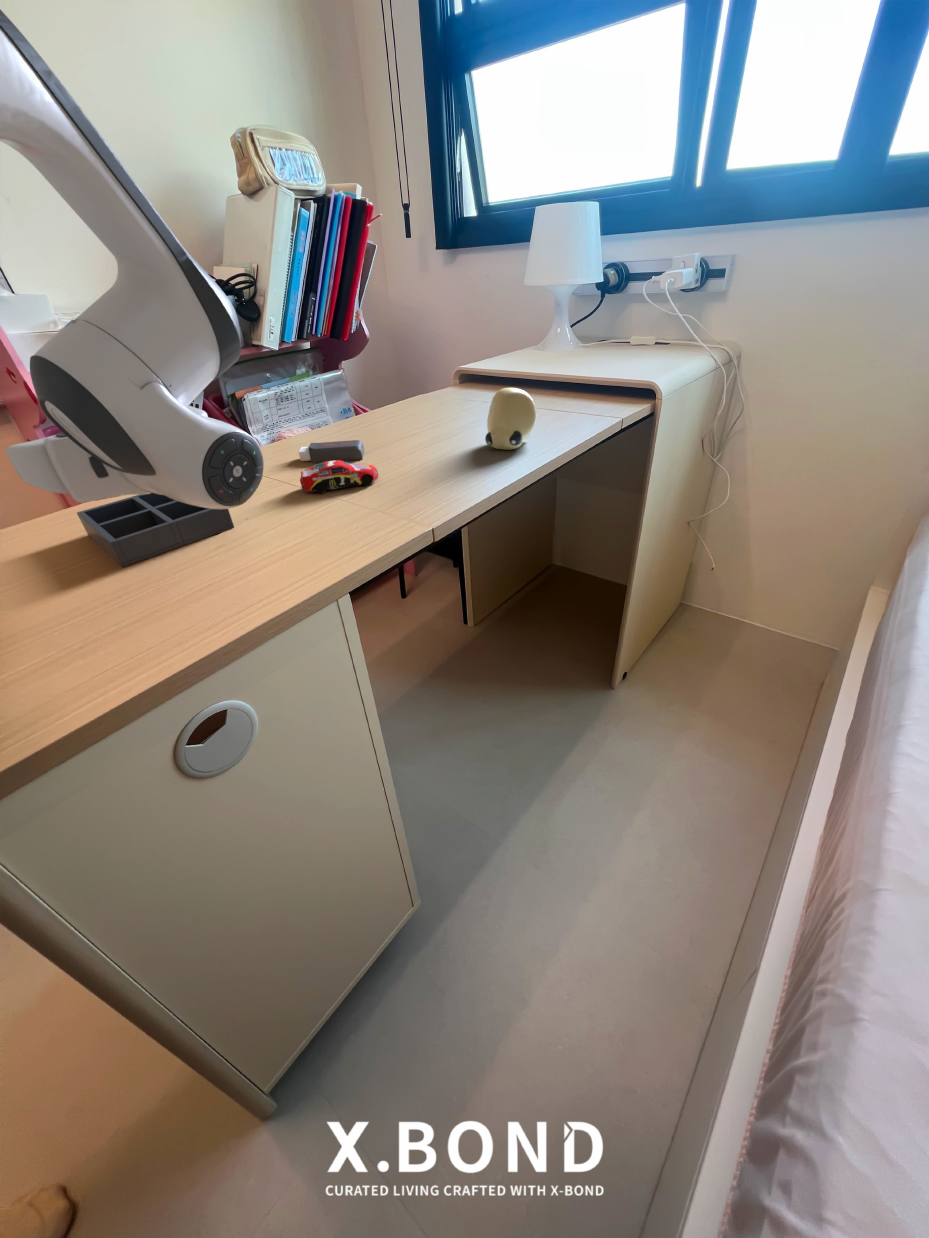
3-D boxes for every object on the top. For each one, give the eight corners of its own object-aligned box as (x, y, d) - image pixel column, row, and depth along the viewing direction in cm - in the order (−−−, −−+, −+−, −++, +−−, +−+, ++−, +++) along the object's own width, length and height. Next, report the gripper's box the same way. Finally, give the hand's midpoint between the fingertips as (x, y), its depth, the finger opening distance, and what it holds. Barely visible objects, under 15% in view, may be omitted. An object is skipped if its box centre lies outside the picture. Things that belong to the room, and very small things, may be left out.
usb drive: (362, 459, 98) (360, 445, 97) (300, 464, 98) (296, 449, 96) (364, 451, 102) (362, 437, 101) (304, 455, 102) (301, 441, 100)
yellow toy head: (488, 459, 106) (470, 435, 96) (500, 406, 107) (484, 376, 97) (532, 462, 102) (519, 437, 92) (545, 406, 103) (533, 376, 93)
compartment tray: (122, 567, 66) (110, 542, 64) (88, 535, 75) (76, 512, 73) (234, 527, 75) (226, 504, 73) (191, 502, 84) (183, 481, 81)
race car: (376, 474, 91) (373, 452, 89) (382, 484, 87) (379, 461, 84) (301, 485, 88) (296, 462, 85) (303, 496, 84) (298, 472, 81)
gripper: (224, 397, 60) (162, 389, 66) (28, 445, 46) (-25, 428, 53) (240, 451, 63) (180, 438, 70) (63, 509, 50) (10, 486, 57)
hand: (90, 434), depth 61 cm, fingers closed on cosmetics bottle, 6 cm apart
